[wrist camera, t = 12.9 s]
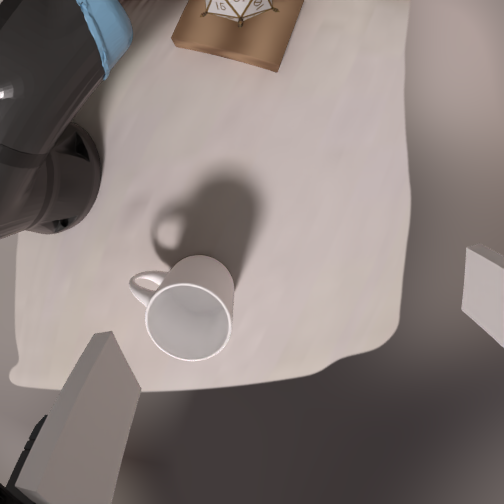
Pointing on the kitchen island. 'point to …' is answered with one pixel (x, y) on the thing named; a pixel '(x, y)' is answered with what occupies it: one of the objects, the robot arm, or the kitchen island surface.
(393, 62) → the kitchen island surface
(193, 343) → the mug
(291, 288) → the kitchen island surface
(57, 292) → the kitchen island surface
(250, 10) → the game die
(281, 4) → the pedestal
